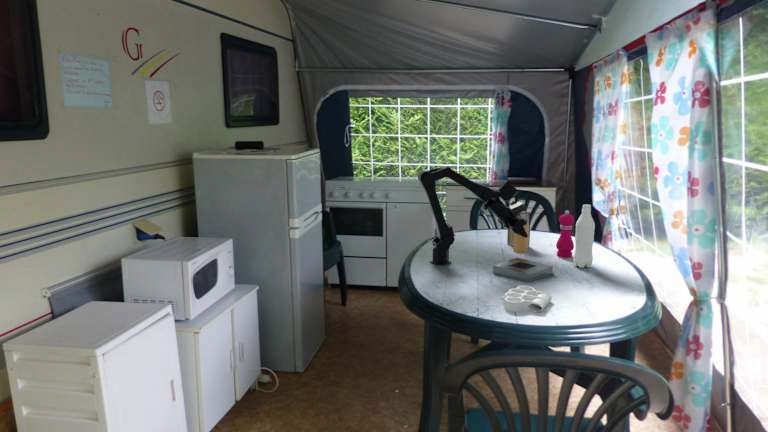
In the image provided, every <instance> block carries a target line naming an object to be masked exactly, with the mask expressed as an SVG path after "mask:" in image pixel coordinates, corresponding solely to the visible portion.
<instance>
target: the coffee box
mask: <svg viewBox="0 0 768 432" xmlns="http://www.w3.org/2000/svg"><path fill="white" fill-rule="evenodd" d="M531 214H532V213H531V212H529V211H526V210H525V211H522V212H520V213H518V214H516V215H517V217H516V218H519V215H521V216H522V215H525V218H526V219H528V220H527V223H528V224H529V229H528V248H529V247H530V241H531V239H530V235H531V218H532V217H531V216H532V215H531ZM506 238H507V239H506V240H507V241H506V242H507V243H506V244H507V245H509V246H512V247H514V232H512V231H511V230H510V229H508V228H507V237H506Z"/></svg>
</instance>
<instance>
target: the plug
mask: <svg viewBox="0 0 768 432" xmlns="http://www.w3.org/2000/svg"><path fill="white" fill-rule="evenodd" d="M519 218H522V219H524V220H525V221H526V224H525V225H524V226H523V227H524V229H525V231H526V233H527V235H528V229H529V224H528V223H527V220H528V219H526V218H525V215H522V216H521V215H519ZM528 249H529V247H528V237H527V238H526V237H523V236H521V235H519V234H516V233H514V246H513V253H516V254H520V255H521V254H527V253H528Z"/></svg>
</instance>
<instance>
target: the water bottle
mask: <svg viewBox="0 0 768 432" xmlns="http://www.w3.org/2000/svg"><path fill="white" fill-rule="evenodd" d="M591 207H592V205H591V204H588V203H587V204H582V208H581V214H580V215H579V217H578V219H577V221H576V223H575V235H574V240H575V243H574V244H575V245H574V249H575V250H574V254H573V256H572V258H573V264H574V266H575V267H579V268H580V269H584V268H585V267H586V268H587V267H589V268H590V267H591V266H592V264H593V260H594V259H593V258H594V257H593V245H594V241H595V238H594V237H595V227H596V224H595V221H594V218H593V217H592V213H591V212H592V208H591Z"/></svg>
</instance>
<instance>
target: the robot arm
mask: <svg viewBox="0 0 768 432" xmlns="http://www.w3.org/2000/svg"><path fill="white" fill-rule="evenodd" d="M444 178H447V179H449V180H451V181H453V182H455V183H456V184H458V185H460V186H462V187H463V188H465V189H467V190H468V191H469V192H470V193H471V194H473V195H474V196H475V198H477V199H479V200H480V201H483V203H482V210H484V211H488V209H489V210H490V211H491V213H493V214H494V216H495V217H496V218H497V222H498V224H500V225H501V226H503V227H505V228H506V229H507V230H508V229H510V230H511V231H512V232H514V233H516V234H519V235H521V236H523V237H526V238H527V237H528V235H527V233H526V231H525V229H524V227H523V226H524V225H525V224H526V221H525V220H524V219H522V218H516V217H517V215H516V214H518V213H520V212H522V211H525V212H526V210H527V209H526V207H525V203H524V202H522V201H516V200H511V199H513V198H515V196H516V195H517V194H518V193H519V191H518V189H517V188H516V187H515V186H513V185H512V184H511V183H510V182H509V181H507V180H505V181H504V182H503V183H502V185H501V186H500V187H498V189H495V188H490V187H488V186H487V185H483V184H480V183H477V182H474V181H472V180H471V179H469V178H468V177H465V176H464V175H462V174H460V173H459V172H457V171H456V170H454V169H452V168H451V167H449V166H447V165H443V166H442V167H438V168H432V169H429V170H428V169H426V168H425V169H420V170H419V172H418V174H417V180H418V182H419V185H421V188H422V189H423V191H424V192H425V195H426V198H427V201H428V203H429V206H430V207H429V208H430V210H431V212H432V216H433V219H434V222H435V225H436V228H435V229H436V230H435V231H436V236H435V238H433V239H432V241H431V244H432V246H433V248H432V260H430V261H429V263H430V264H431V263H432V264H434V265H438V266H443V265H448V264H451V263H452V261H451V260H450V247H451V246H452V245H453V244H454V241H455V237H456V234H455V233H454V228H453V226H452V225H451V224H450V223H448V224H447V222H446V219H445V215H444V212H443V209H442V206H441V203H440V200H439V198H438V197H439V196H438V194H437V190H436V189H437V188H436V182H437V181H439V180H441V179H444ZM505 202H509V203H510V204H509V206H507V205H506V204H505Z"/></svg>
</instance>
